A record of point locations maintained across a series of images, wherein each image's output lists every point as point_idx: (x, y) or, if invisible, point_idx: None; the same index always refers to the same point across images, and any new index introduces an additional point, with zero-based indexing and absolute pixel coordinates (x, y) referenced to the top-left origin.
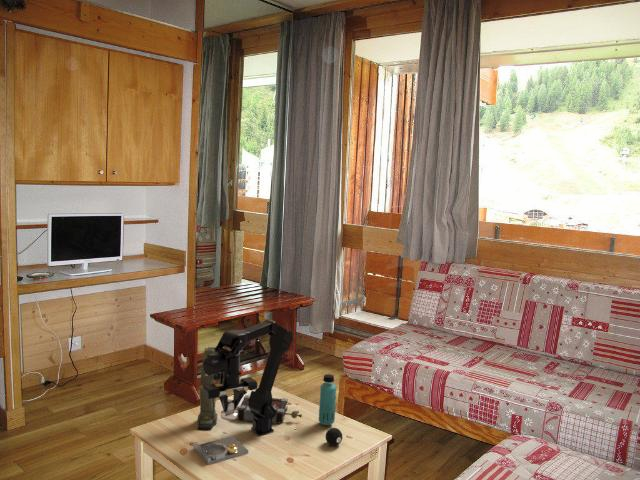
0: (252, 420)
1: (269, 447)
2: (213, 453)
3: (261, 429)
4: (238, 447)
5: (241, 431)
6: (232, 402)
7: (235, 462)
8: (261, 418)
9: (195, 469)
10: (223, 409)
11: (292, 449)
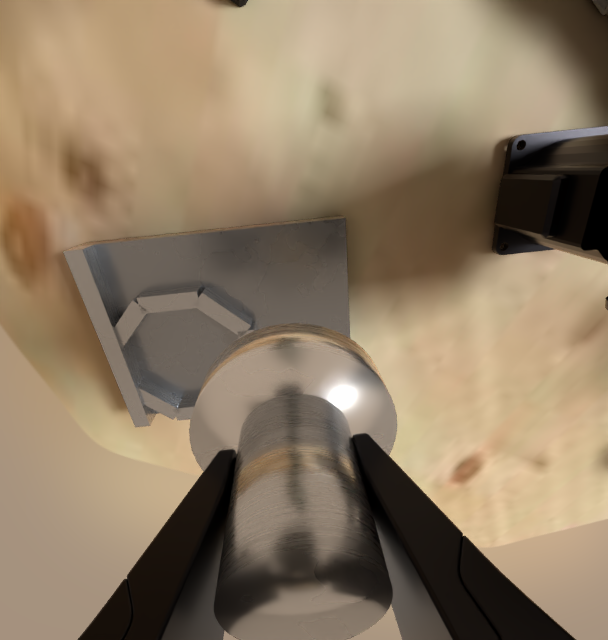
0: (603, 7)
1: (459, 372)
2: (182, 361)
3: (535, 240)
4: None
5: (436, 143)
6: (327, 637)
7: None
8: (600, 256)
9: (89, 418)
10: (206, 479)
11: (527, 417)
